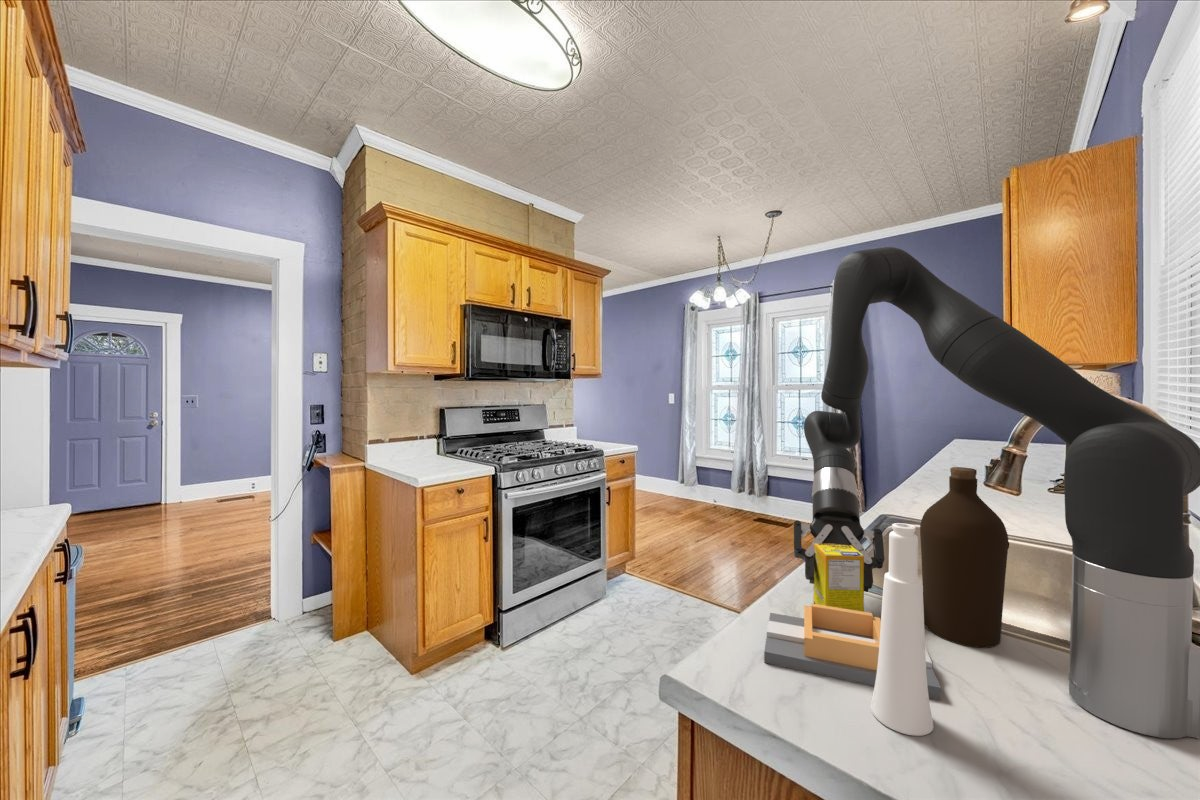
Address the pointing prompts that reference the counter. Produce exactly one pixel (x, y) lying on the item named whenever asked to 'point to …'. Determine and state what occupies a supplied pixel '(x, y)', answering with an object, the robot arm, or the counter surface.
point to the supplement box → (838, 576)
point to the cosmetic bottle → (902, 642)
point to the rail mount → (832, 645)
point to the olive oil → (963, 565)
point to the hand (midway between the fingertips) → (838, 585)
